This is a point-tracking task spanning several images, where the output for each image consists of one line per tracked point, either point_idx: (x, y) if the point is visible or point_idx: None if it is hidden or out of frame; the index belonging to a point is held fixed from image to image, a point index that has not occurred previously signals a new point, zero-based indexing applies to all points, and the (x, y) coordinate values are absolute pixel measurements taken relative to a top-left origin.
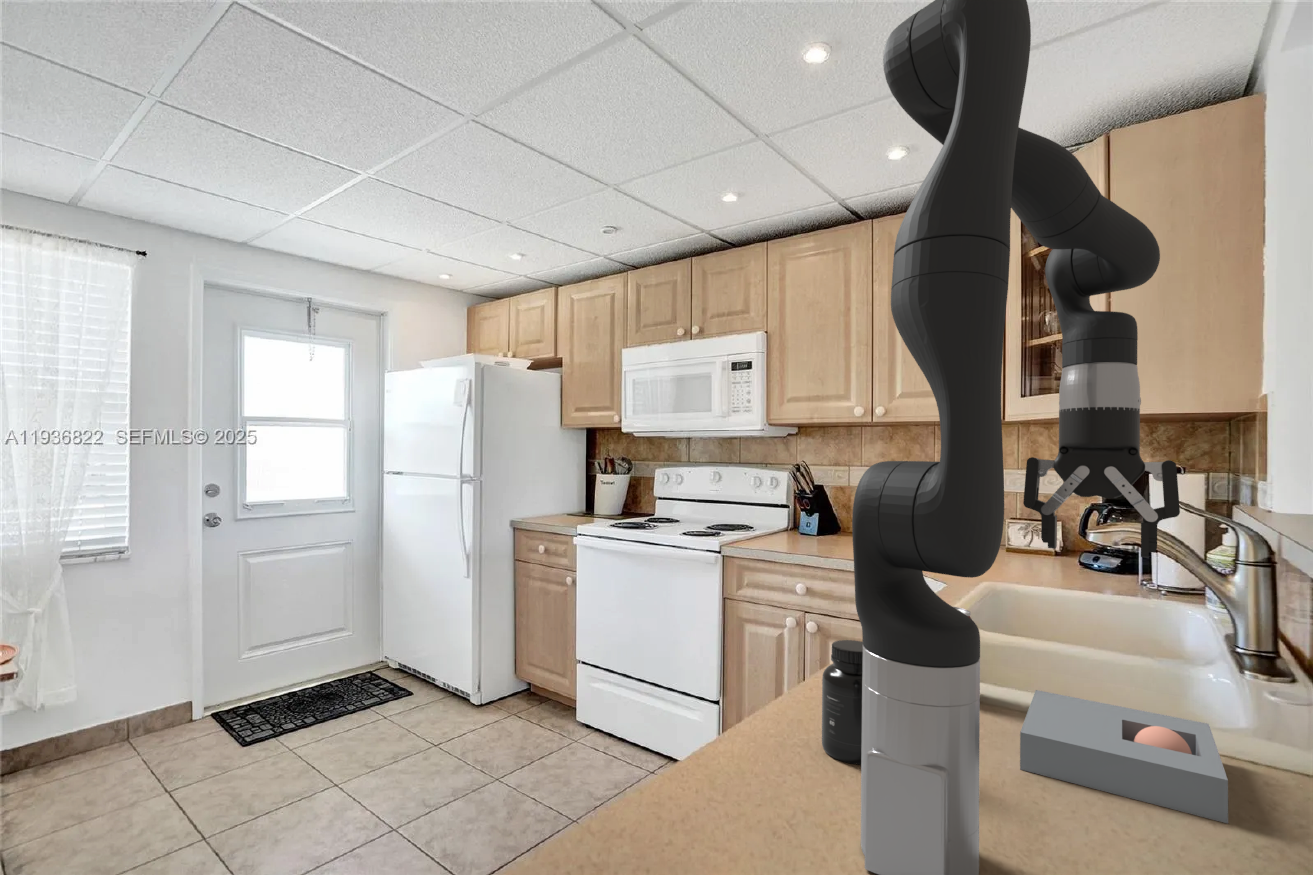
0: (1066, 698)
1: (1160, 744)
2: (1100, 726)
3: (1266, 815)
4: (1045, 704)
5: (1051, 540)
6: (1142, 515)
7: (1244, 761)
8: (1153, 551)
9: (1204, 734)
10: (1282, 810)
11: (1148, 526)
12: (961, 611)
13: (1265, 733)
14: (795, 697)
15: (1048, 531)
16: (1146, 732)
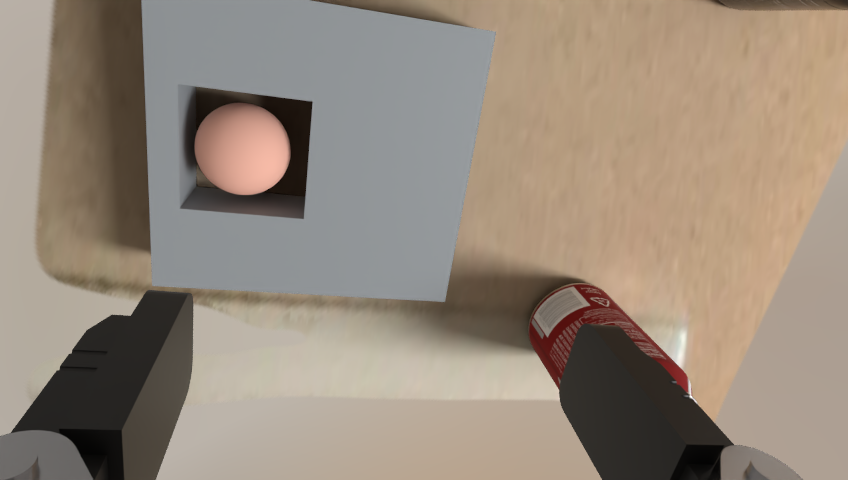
0: (393, 284)
1: (245, 116)
2: (345, 153)
3: (102, 53)
4: (434, 226)
5: (617, 340)
6: (83, 476)
7: (117, 281)
8: (116, 320)
9: (163, 218)
10: (76, 91)
11: (76, 407)
12: None
13: None
14: (829, 157)
15: (658, 372)
16: (266, 145)
